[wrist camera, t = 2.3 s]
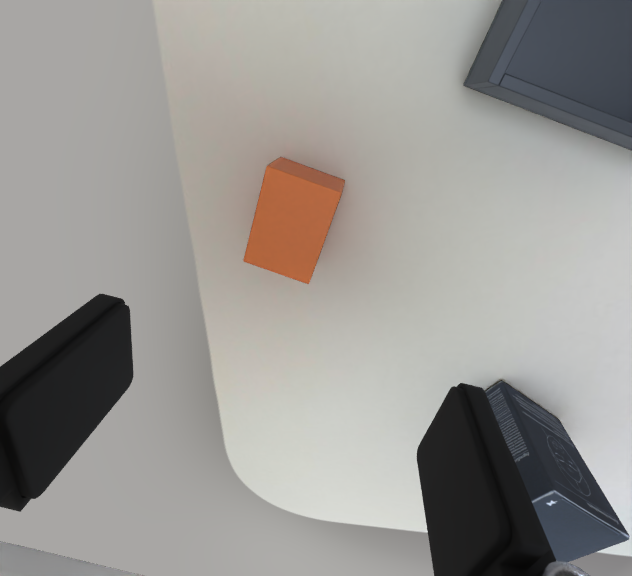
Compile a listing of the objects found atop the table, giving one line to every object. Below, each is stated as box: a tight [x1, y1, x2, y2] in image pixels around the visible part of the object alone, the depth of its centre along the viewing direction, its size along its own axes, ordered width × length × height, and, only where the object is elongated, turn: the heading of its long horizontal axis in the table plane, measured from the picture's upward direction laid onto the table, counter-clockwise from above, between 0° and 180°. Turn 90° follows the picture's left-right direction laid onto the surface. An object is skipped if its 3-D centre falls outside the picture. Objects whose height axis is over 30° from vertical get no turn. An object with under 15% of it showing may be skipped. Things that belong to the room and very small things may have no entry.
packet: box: [244, 157, 345, 284], centre depth 26 cm, size 5×7×4 cm
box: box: [485, 381, 630, 562], centre depth 30 cm, size 8×6×11 cm
